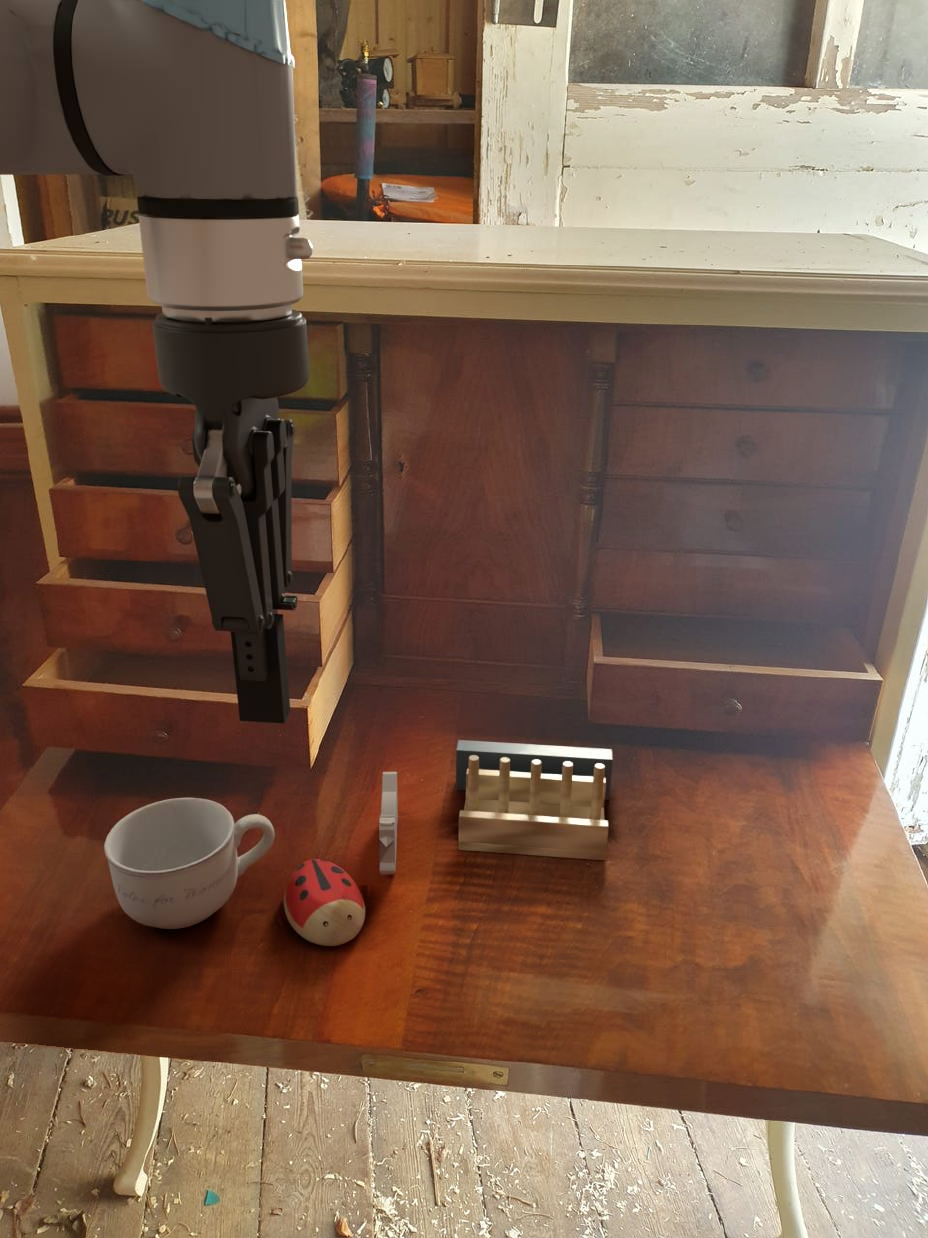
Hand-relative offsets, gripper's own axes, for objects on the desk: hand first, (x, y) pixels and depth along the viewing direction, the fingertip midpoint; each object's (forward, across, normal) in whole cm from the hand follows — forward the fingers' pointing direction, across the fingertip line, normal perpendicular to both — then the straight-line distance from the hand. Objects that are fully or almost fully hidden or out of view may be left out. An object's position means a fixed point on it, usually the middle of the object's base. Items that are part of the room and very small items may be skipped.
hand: (265, 715), depth 58 cm
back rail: (+29, +36, -16) cm, 49 cm away
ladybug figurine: (+30, +15, +1) cm, 33 cm away
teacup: (+30, +16, +13) cm, 36 cm away
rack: (+29, +29, -17) cm, 44 cm away
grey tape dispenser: (+30, +24, -3) cm, 38 cm away
